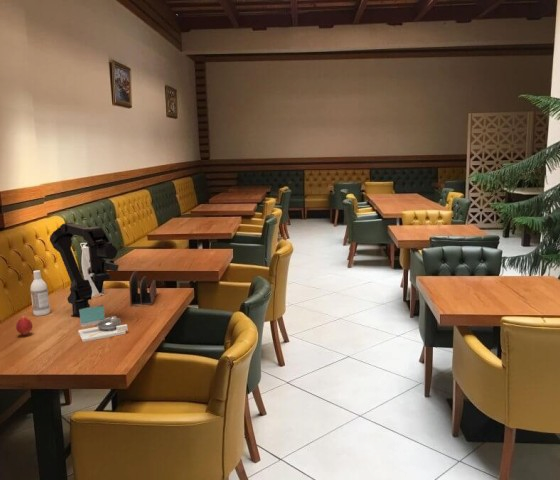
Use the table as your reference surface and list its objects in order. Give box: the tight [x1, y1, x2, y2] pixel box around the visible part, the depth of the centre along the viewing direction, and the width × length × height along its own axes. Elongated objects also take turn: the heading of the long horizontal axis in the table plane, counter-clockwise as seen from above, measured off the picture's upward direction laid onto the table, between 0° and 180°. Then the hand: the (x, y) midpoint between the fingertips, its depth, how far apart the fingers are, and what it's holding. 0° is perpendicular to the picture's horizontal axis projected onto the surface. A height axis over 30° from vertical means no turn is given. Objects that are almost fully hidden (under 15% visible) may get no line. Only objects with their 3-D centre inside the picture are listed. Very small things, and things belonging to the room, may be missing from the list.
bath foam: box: [30, 269, 51, 317], centre depth 233 cm, size 7×7×20 cm
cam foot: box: [79, 304, 122, 330], centre depth 205 cm, size 15×9×9 cm, turn 119°
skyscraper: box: [79, 242, 105, 297], centre depth 260 cm, size 8×8×28 cm
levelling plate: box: [77, 324, 129, 343], centre depth 205 cm, size 17×12×3 cm
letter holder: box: [128, 270, 158, 307], centre depth 249 cm, size 10×20×14 cm, turn 7°
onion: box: [15, 315, 33, 336], centre depth 205 cm, size 6×6×8 cm
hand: (100, 292), depth 220 cm, fingers closed
